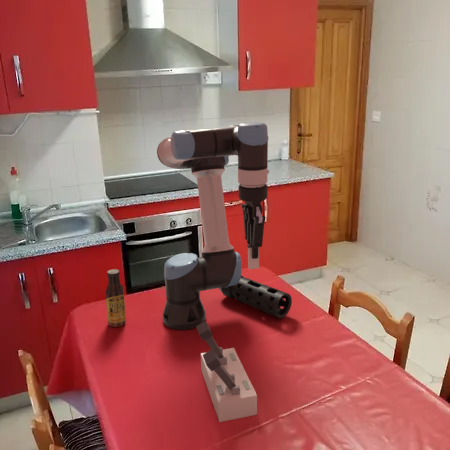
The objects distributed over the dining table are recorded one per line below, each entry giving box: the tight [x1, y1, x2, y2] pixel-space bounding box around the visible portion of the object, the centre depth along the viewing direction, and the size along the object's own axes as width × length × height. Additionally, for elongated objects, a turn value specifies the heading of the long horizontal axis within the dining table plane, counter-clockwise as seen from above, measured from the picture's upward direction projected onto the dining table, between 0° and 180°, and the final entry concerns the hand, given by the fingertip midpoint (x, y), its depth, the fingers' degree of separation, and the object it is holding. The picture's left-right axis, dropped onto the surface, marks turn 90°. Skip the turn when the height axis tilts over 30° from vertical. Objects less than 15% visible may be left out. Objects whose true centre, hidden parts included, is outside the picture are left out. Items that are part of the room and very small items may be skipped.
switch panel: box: [200, 346, 258, 423], centre depth 130 cm, size 10×22×8 cm, turn 15°
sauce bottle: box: [105, 268, 127, 328], centre depth 164 cm, size 7×6×20 cm
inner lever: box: [196, 320, 224, 358], centre depth 133 cm, size 3×4×11 cm
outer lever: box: [203, 348, 236, 390], centre depth 121 cm, size 3×4×11 cm
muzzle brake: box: [218, 274, 293, 320], centre depth 174 cm, size 10×28×10 cm, turn 46°
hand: (253, 267), depth 130 cm, fingers closed
